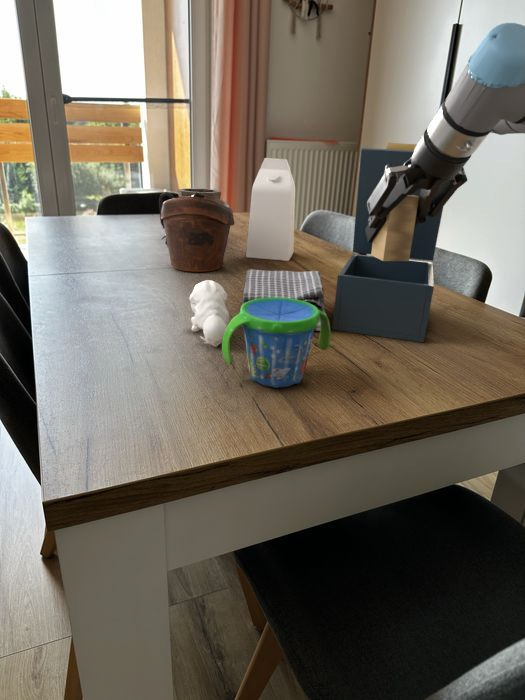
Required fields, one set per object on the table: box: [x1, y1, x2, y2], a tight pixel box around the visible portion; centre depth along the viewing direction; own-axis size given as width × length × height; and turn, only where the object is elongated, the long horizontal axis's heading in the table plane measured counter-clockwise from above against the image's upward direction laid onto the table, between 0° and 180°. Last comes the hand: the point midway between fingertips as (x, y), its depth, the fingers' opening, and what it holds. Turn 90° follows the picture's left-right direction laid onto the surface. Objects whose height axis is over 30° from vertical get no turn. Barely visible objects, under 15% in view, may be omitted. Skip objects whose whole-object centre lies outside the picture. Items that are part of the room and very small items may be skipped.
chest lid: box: [352, 142, 444, 262], centre depth 100 cm, size 21×16×10 cm
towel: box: [241, 268, 328, 332], centre depth 96 cm, size 15×18×8 cm
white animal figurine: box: [189, 279, 230, 348], centre depth 83 cm, size 6×8×12 cm
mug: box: [158, 187, 222, 230], centre depth 162 cm, size 20×14×15 cm
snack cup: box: [221, 297, 332, 389], centre depth 70 cm, size 16×10×10 cm
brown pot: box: [159, 193, 235, 273], centre depth 127 cm, size 18×20×18 cm
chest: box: [331, 253, 435, 344], centre depth 96 cm, size 20×16×10 cm
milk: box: [245, 157, 296, 262], centre depth 143 cm, size 12×12×26 cm
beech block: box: [370, 195, 419, 261], centre depth 90 cm, size 5×5×11 cm
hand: (382, 235), depth 94 cm, fingers closed on beech block, 5 cm apart
